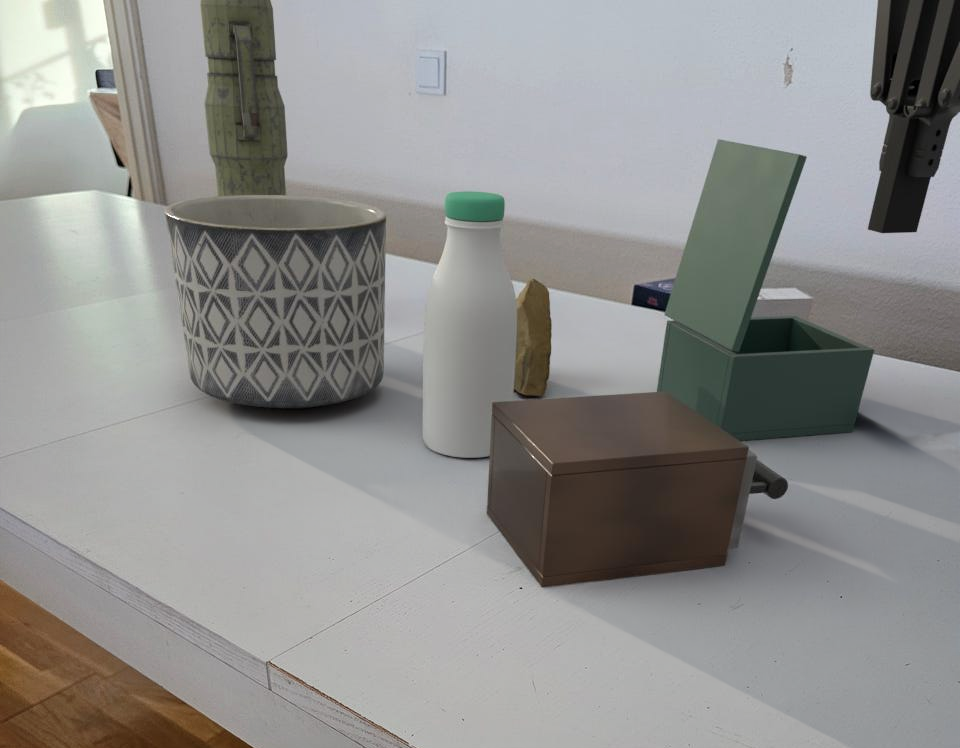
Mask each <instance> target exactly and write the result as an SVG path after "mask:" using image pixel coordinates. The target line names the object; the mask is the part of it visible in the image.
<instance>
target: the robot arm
mask: <svg viewBox="0 0 960 748" xmlns="http://www.w3.org/2000/svg"><path fill="white" fill-rule="evenodd" d="M874 29H875V31H874V44H873V54H872V65H871V78H870V89H869V90H870V91H869V96H870V99H871V100H872V101H873V102H880V103H881V104H883V105H884V106H885V110H886V113H887V114H888V115H889V117H888V122H887V127H886V131H885V135H884V140H883V145H882V149H881V153H880V157H879V161H878V165H879V167H878V168H879V169H878V171H879V172H880V175H879V178H878V183H877V186H876V187H877V188H876V192H875V196H874V200H873V205H872V208H871V213H870V217H869V221H868V225H867V230H868V231H872V232H876V233H879V234H905V233H906V234H907V233H918V228H919V224H920V220H921V217H922V213H923V209H924V206H925V202H926V199H927V195H928V190H929V186H930V182H931V179H932V178H934V177H935V175H936V174H937V172H938V170H939V168H940V164H941V160H942V159H941V158H942V156H943V152H944V151H943V150H944V148H945V145H946V140H947V137H948V133H949V129H950V125H951V123H952V121H953V119H954V118H955V117H957V116H958V115H959V113H960V0H877V7H876V18H875V28H874Z"/></svg>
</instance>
